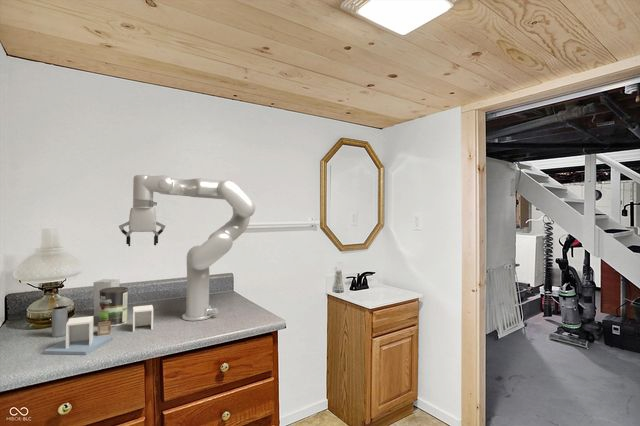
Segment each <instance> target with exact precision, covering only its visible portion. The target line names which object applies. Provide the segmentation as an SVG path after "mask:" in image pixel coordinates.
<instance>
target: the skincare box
mask: <svg viewBox="0 0 640 426" xmlns="http://www.w3.org/2000/svg"><path fill="white" fill-rule="evenodd" d="M111 287H121V286H120V279H115V278H114V279H109V278H108V279H105V278H103V279H100V280H96V281H94V282H93V316H94V317H97V318H99V307H100V292H99V291H100V290H101V289H105V288H111Z"/></svg>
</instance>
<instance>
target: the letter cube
mask: <svg viewBox="0 0 640 426" xmlns="http://www.w3.org/2000/svg"><path fill="white" fill-rule="evenodd" d="M111 330H112V329H111V321H106V322H99V321H98V323H97V336H109V335H111V332H112V331H111Z"/></svg>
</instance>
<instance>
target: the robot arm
mask: <svg viewBox="0 0 640 426" xmlns="http://www.w3.org/2000/svg"><path fill="white" fill-rule="evenodd" d="M132 182H133V183H132V185H133V186H132V189H133V190H132V198H133V199H132V207H131V208H130V209H129V217H128V218H129V220H128V221H127V222H124V223H123V224H120V225H118V228H119V230H120V231H121V233H122V234H123V235H124V236H126V241H125V243H126V245H128V247H130V246H131V234H132V233H137V232H138V233H141V232H143V233H145V232H146V233H147V232H148V233H149V232H152V233H153V234H154V236H153V246H157V244H159V236H160V235H161V234H162V233H163V232H164V230H165V228H166V225H165V224H162V223H160V222H158V221H157V216H156V214H157V213H156V208H155V207H156V206H157V205H158V202H155V201H154V192H155V193H158V194H160V195H168V196H182V197H191V198H202V199H212V200H213V199H214V200H225V201H226V202H227V203H228V204H229V205H230V207H232V216H231V218H230V219H229V220H228V221H227V222H226V223H225V224H224V225H222V226H221V227H219V228H218V229H216V230H215V231H214V232H212V233H211V234H210V235H209V237H208V238H207V240H206V241H204V242H203V243H202V244H201V245H195V246H192V247H191V248H190V249H189V250H188V251H187V253H186V293H185V294H186V296H185V297H186V299H185V300H186V302H185V303H186V307H185V310H186V311H185V312H184V313H183V314H182V315H181V316H182V319H183V320H184V321H193V322H194V321H203V320H204V321H205V320H207V319H210V318H212V317H213V315H217V314H219V309H218V308H216V307H214V308H212V306H211V304H210V267H211V266H212V265H213V264H215V263H216V262H218V261H219V260H220V259H221V258H223V257H224V255H226V254H227V253H228V252H230V250H231V248H232V247H233V243H234V242H235V240H237V239H238V238H239V237H240V236H241V235H243V233H244V232H246V230H247V229H248V227H249V224H250V219H251V217H252V216H253V215H254V213H255V212H256V205H255V203H254V201H253V199H251V198H250V197H249V195H247V194H246V192H245V191H244V190H243V189H242V188H241V187H240V186H239V185H238V184H237V183H236V182H235V181H233V180H231V179H226V180H216V179H208V178H201V177H200V178H197V177H196V178H189V179H184V178H183V179H181V178H171V177H169V176H168V175H165V174H164V175H161V174H159V175H147V174H136V175H134V176H133V180H132ZM127 226H128V231H126V230H125V227H127ZM157 226H159V227H160V229H159V230H158V231H157Z"/></svg>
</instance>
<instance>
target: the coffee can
mask: <svg viewBox="0 0 640 426" xmlns="http://www.w3.org/2000/svg"><path fill="white" fill-rule="evenodd" d="M99 292H100V307H99V317H98V323H99V322H106V321H111V327H113V328H114V327H119V326H122V325H125V324H126V323H128V298H129V297H128V296H129V288H128V287H125V286H120V287H111V288H105V289H101V290H100V291H99Z"/></svg>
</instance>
